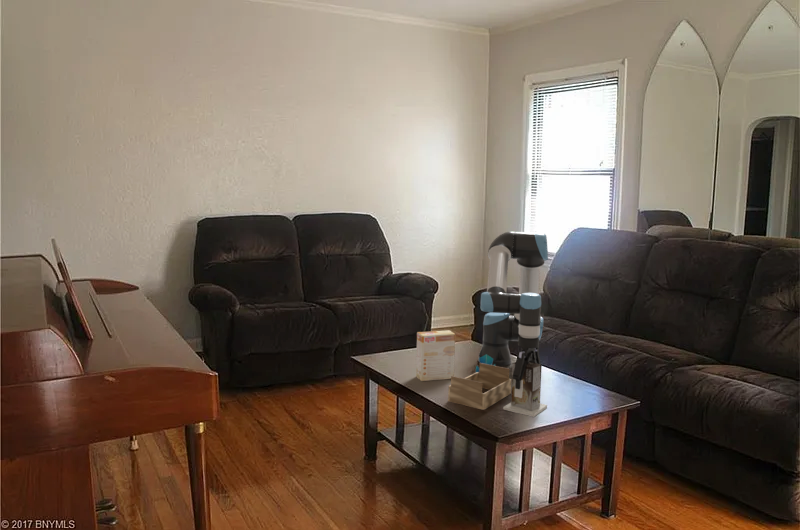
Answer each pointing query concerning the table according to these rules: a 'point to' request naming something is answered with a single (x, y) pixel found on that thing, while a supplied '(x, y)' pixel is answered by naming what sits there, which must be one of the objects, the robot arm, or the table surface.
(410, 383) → the table surface
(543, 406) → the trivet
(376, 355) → the table surface
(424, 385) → the table surface
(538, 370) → the coffee box
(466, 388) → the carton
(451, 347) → the coffeecake box
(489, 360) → the gemstone
